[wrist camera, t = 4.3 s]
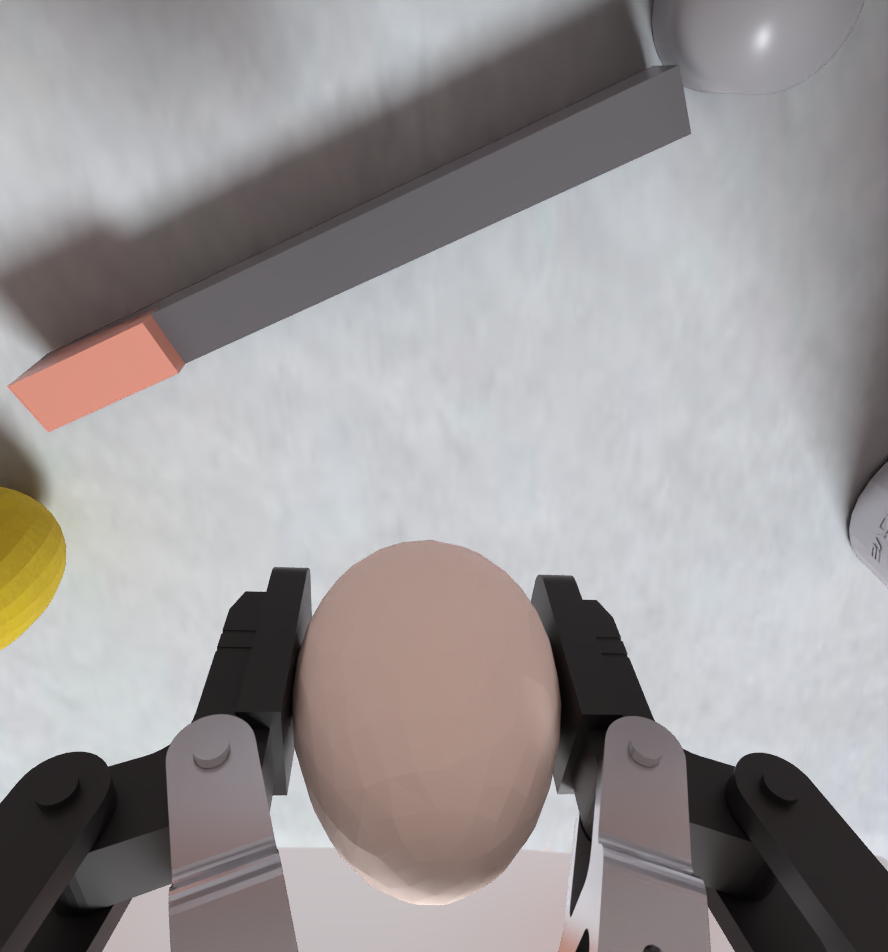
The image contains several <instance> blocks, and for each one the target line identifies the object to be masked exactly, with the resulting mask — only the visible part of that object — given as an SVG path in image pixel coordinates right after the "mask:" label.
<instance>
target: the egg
mask: <svg viewBox="0 0 888 952" xmlns="http://www.w3.org/2000/svg"><path fill="white" fill-rule="evenodd" d="M292 719H293V739H294V748H295V751H296V754H297V757H298V761H299V764H300V767H301V771H302V774H303V777H304V781H305V784H306V787H307V790H308V794H309V797H310V800H311V803H312V806H313V808H314V811H315V813H316V815H317V817H318V819H319V821H320V822H321V824H322V826H323V828H324V830H325V832H326V833H327V835H328V837H329V839H330V841H331V842H332V844H333V846H334V847H335V849H336V850H337V852H338V853H339V855H340V857H341V858H343V860H345V861H346V862H347V863H348V864H349V865H350V866H351V867H352V868H353V869H354V870H355V871H356V872H357V873H358V874H359V875H360V876H361V877H362V878H363V879H364V880H365V881H366V882H367V883H368V884H369V885H371V886H373V887H374V888H376V889H378V890H379V891H381V892H383V893H386V894H388V895H390V896H393V897H395V898H398V899H400V900H402V901H405V902H409V903H412V904H416V905H446V904H448V903H451V902H454V901H457V900H460V899H462V898H465V897H468V896H470V895H471V894H473V893H475V892H476V891H478V890H479V889H481V888H483V887H484V886H486V885H488V884H489V883H491V882H492V881H493V880H494V879H496V878H497V877H498V876H499V875H500V874H502V873H503V872H504V870H505V869H506V868H507V867H508V865H509V864H510V863H511V861H512V860H513V858H514V857H515V856H516V854H517V853H518V852H519V850H520V849H521V848H522V846H523V845H524V844H525V842H526V841H527V839H528V838H529V836H530V835H531V833H532V831H533V830H534V828H535V826H536V823H537V821H538V818H539V816H540V813H541V810H542V808H543V805H544V802H545V800H546V797H547V794H548V792H549V789H550V785H551V780H552V775H553V770H554V765H555V760H556V755H557V751H558V746H559V738H560V722H561V698H560V690H559V682H558V675H557V671H556V666H555V662H554V658H553V653H552V649H551V645H550V641H549V639H548V636H547V634H546V632H545V629H544V627H543V625H542V622H541V620H540V617H539V615H538V613H537V611H536V609H535V608H534V606H533V605H532V603H531V602H530V600H529V599H528V597H527V596H526V594H525V593H524V591H523V590H522V589H521V587H520V586H519V585H518V584H517V583H516V582H515V581H514V580H513V579H512V578H511V577H510V576H509V575H508V574H507V573H506V572H505V571H504V570H502V569H501V568H500V567H498V566H497V565H495V564H494V563H492V562H491V561H489V560H488V559H487V558H485V557H484V556H482V555H481V554H479V553H477V552H474V551H472V550H469V549H467V548H465V547H461V546H457V545H452V544H448V543H443V542H438V541H434V540H424V541H412V542H402V543H398V544H395V545H392V546H389V547H386V548H383V549H380V550H378V551H376V552H375V553H373V554H371V555H370V556H368V557H366V558H364V559H363V560H361V561H359V562H358V563H356V564H354V565H353V566H352V567H351V568H349V569H348V570H347V571H346V572H345V573H344V574H343V575H342V576H341V577H340V578H339V579H338V580H337V581H336V582H335V584H334V585H333V586H332V588H331V589H330V590H329V591H328V593H327V594H326V595H325V597H324V598H323V599H322V601H321V603H320V605H319V606H318V608H317V610H316V611H315V613H314V615H313V617H312V618H311V620H310V622H309V624H308V626H307V629H306V632H305V635H304V638H303V642H302V645H301V648H300V651H299V654H298V658H297V665H296V672H295V679H294V686H293V701H292Z"/></svg>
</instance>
